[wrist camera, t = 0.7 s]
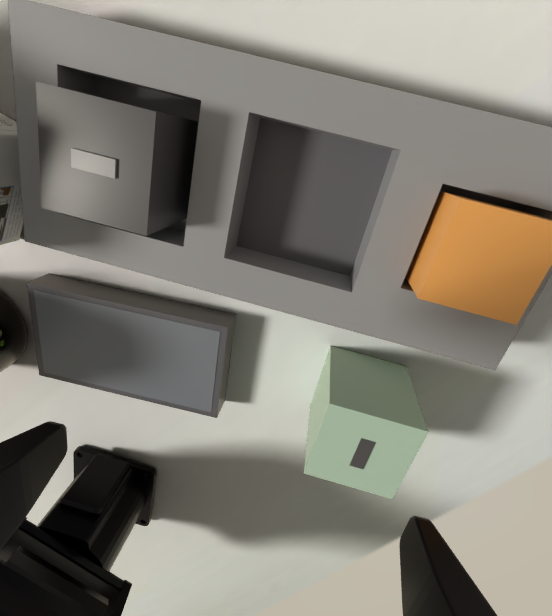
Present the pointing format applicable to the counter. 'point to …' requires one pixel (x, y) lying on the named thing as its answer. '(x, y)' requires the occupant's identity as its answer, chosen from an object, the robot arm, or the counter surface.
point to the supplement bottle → (10, 333)
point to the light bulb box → (9, 183)
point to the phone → (131, 343)
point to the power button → (481, 257)
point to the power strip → (257, 175)
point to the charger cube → (363, 423)
